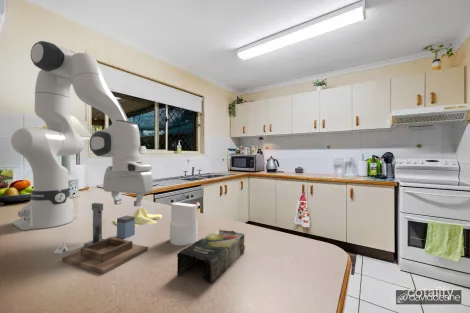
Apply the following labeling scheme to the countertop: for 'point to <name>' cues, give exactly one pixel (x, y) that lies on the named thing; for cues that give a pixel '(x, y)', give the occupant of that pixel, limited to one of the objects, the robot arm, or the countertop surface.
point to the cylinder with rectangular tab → (183, 223)
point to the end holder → (105, 255)
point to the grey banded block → (125, 226)
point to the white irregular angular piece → (61, 248)
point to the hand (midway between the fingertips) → (127, 205)
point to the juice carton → (213, 253)
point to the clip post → (96, 223)
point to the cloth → (143, 217)
